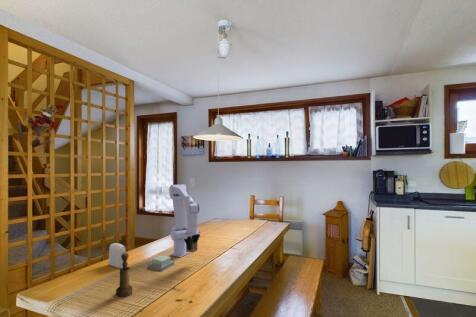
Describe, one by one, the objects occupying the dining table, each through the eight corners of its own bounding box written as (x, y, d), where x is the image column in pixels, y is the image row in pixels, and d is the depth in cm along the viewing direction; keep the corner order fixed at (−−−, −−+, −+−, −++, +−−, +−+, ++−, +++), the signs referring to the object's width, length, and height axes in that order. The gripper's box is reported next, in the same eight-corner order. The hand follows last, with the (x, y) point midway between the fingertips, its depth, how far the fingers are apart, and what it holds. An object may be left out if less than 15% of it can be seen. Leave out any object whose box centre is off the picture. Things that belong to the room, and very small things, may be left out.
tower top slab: (161, 259, 151) (161, 254, 151) (170, 261, 148) (170, 257, 148) (152, 263, 145) (152, 258, 145) (162, 265, 142) (162, 261, 142)
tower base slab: (160, 262, 153) (160, 258, 153) (174, 265, 149) (174, 261, 149) (147, 268, 144) (148, 264, 144) (162, 272, 139) (162, 267, 139)
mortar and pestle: (134, 290, 119) (135, 250, 119) (129, 297, 112) (129, 255, 112) (119, 290, 119) (120, 250, 119) (113, 297, 112) (114, 255, 112)
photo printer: (126, 266, 145) (126, 244, 145) (119, 269, 141) (120, 246, 141) (114, 262, 150) (115, 241, 150) (107, 265, 146) (108, 242, 146)
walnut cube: (190, 249, 152) (190, 241, 152) (197, 250, 150) (197, 242, 150) (186, 251, 147) (186, 243, 147) (192, 252, 146) (192, 244, 146)
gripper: (190, 228, 140) (190, 253, 140) (205, 222, 154) (204, 245, 153) (180, 226, 143) (179, 251, 143) (194, 221, 156) (194, 243, 156)
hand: (191, 248), depth 149 cm, fingers closed on walnut cube, 4 cm apart
